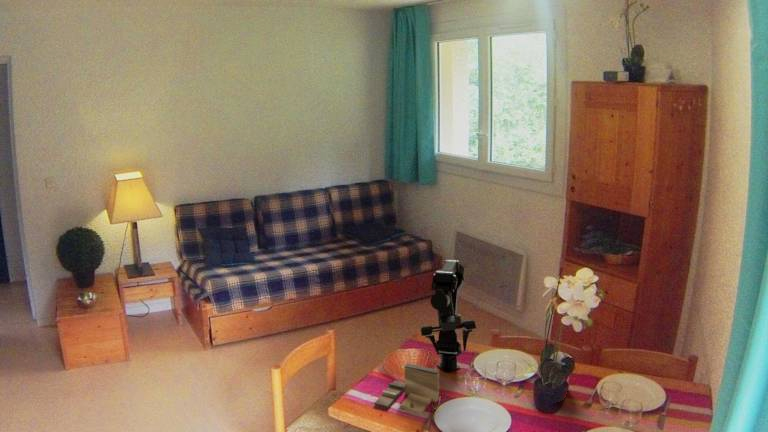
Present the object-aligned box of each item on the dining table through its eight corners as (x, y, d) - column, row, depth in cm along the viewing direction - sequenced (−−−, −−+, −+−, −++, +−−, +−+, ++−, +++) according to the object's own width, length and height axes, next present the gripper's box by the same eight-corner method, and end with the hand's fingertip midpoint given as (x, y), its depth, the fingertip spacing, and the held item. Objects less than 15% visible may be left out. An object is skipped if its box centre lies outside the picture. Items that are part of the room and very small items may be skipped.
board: (394, 383, 221) (394, 377, 220) (407, 386, 219) (407, 380, 218) (374, 405, 207) (374, 400, 206) (387, 409, 205) (387, 403, 204)
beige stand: (407, 391, 215) (407, 363, 212) (439, 399, 210) (439, 370, 207) (394, 406, 206) (394, 377, 203) (427, 415, 201) (427, 385, 198)
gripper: (418, 312, 202) (425, 359, 201) (474, 305, 202) (481, 352, 200) (417, 310, 213) (424, 355, 212) (470, 303, 213) (477, 347, 211)
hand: (451, 352), depth 208 cm, fingers open, 9 cm apart
